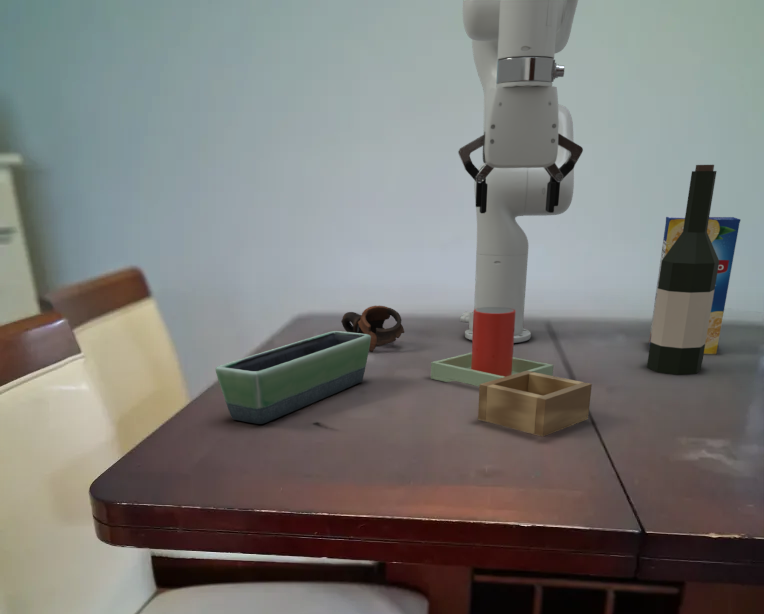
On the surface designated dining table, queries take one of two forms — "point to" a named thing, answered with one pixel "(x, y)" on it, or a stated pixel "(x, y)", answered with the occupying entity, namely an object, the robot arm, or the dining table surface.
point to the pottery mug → (374, 325)
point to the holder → (534, 402)
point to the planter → (293, 375)
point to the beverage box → (724, 244)
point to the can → (493, 340)
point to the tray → (462, 371)
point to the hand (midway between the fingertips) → (516, 212)
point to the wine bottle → (686, 286)
